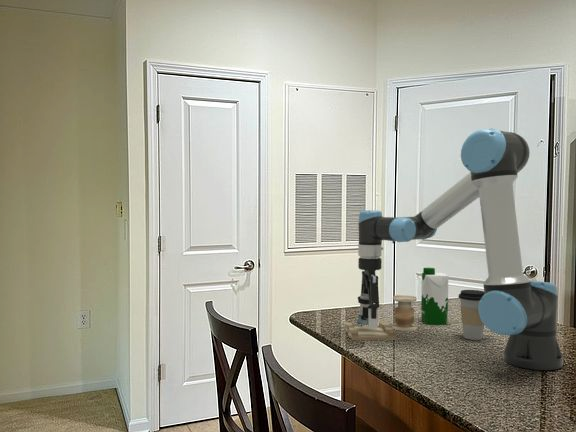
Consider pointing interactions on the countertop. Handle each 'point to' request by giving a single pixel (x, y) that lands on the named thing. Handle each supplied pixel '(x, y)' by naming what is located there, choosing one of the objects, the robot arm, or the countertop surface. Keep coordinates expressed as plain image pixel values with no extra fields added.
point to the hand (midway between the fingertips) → (369, 324)
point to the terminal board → (370, 332)
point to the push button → (363, 316)
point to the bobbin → (404, 313)
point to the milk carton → (434, 297)
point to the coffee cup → (471, 314)
